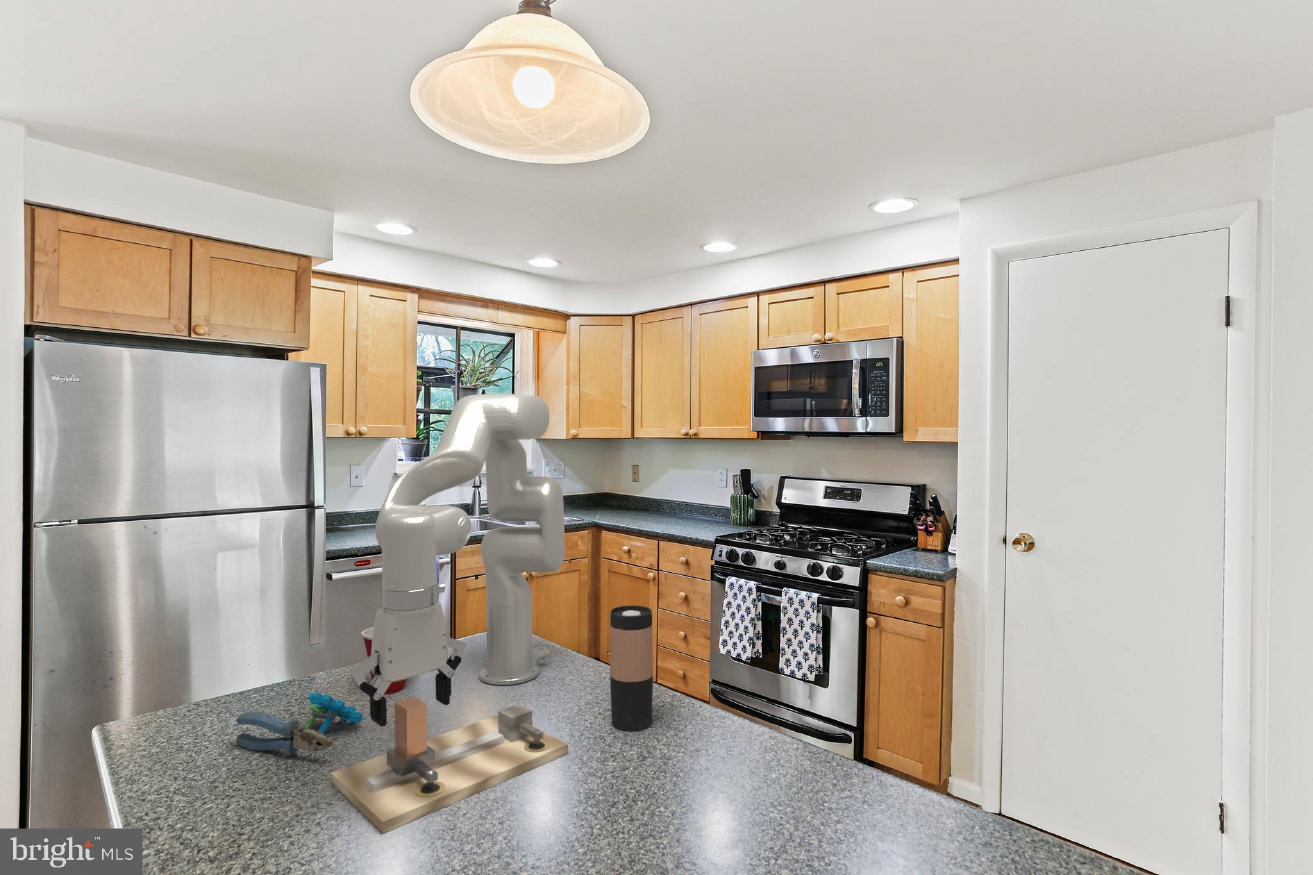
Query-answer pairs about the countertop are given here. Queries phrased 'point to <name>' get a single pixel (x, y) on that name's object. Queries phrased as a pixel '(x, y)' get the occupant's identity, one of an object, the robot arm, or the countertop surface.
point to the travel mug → (631, 667)
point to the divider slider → (412, 741)
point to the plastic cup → (367, 638)
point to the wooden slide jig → (450, 768)
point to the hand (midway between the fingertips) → (412, 712)
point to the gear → (330, 711)
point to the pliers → (290, 732)
